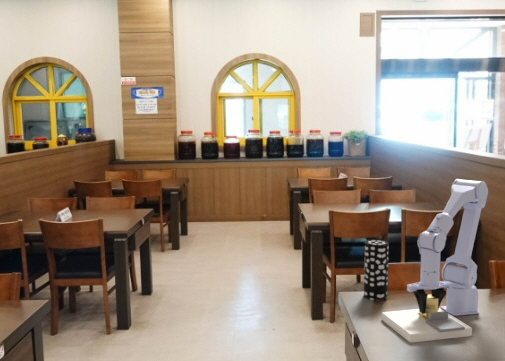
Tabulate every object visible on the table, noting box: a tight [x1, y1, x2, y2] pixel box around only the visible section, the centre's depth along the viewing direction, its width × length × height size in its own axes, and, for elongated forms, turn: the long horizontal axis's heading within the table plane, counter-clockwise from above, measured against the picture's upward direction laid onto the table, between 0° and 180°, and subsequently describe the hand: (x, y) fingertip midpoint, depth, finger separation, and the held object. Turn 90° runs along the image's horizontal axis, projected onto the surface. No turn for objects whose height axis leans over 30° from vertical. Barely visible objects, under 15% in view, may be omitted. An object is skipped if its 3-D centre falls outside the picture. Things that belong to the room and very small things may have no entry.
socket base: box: [381, 307, 473, 343], centre depth 165 cm, size 20×18×2 cm
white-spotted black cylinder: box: [363, 239, 390, 301], centre depth 193 cm, size 8×8×20 cm
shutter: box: [426, 310, 465, 332], centre depth 160 cm, size 8×8×3 cm
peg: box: [419, 294, 438, 319], centre depth 168 cm, size 4×4×8 cm
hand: (428, 312), depth 168 cm, fingers closed on peg, 4 cm apart
